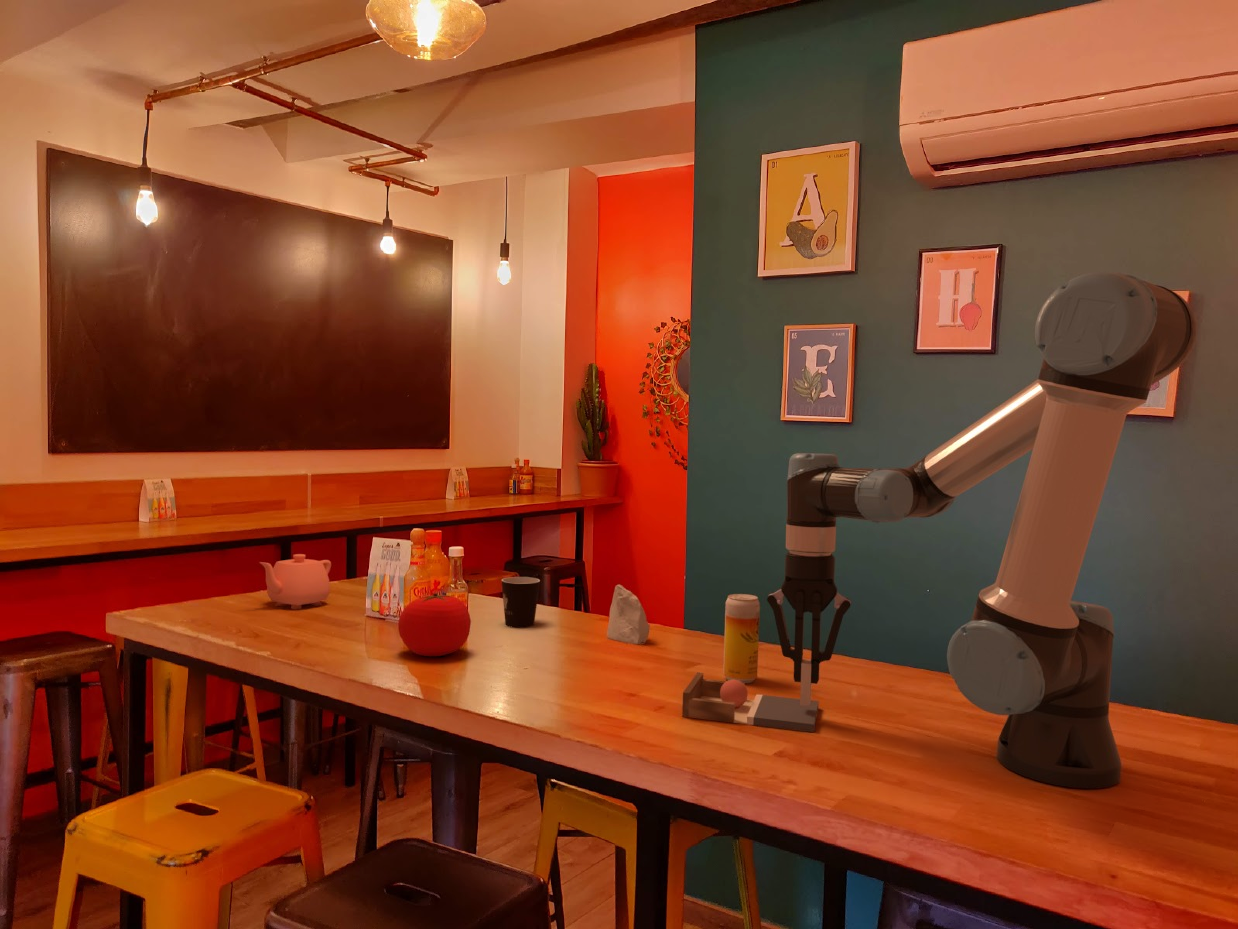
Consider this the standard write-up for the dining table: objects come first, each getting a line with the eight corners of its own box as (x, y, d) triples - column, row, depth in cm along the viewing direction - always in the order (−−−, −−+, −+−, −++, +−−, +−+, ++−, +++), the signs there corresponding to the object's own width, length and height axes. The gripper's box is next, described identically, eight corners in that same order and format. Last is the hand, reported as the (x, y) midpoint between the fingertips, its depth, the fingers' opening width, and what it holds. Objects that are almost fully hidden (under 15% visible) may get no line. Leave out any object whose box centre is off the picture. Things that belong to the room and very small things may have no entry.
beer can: (756, 685, 154) (759, 601, 153) (721, 682, 155) (724, 598, 155) (757, 676, 160) (760, 594, 159) (724, 673, 161) (727, 592, 160)
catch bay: (744, 700, 145) (744, 677, 145) (733, 722, 134) (734, 698, 134) (696, 694, 147) (697, 672, 147) (682, 716, 136) (682, 692, 136)
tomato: (449, 665, 161) (450, 602, 160) (385, 657, 165) (386, 596, 165) (482, 649, 173) (483, 591, 173) (421, 642, 177) (423, 585, 177)
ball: (722, 712, 141) (749, 711, 140) (718, 701, 138) (746, 699, 137) (721, 687, 144) (748, 686, 143) (718, 675, 141) (745, 674, 140)
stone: (651, 643, 183) (653, 588, 182) (632, 646, 179) (635, 590, 179) (619, 633, 190) (621, 580, 190) (601, 636, 187) (603, 582, 187)
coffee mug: (536, 629, 192) (537, 584, 191) (497, 628, 192) (498, 583, 191) (542, 618, 203) (543, 575, 203) (505, 617, 203) (506, 574, 203)
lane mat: (818, 708, 142) (818, 701, 142) (813, 732, 130) (814, 724, 130) (696, 694, 147) (697, 687, 147) (682, 716, 136) (682, 709, 136)
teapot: (241, 608, 205) (242, 556, 204) (312, 595, 222) (313, 548, 221) (277, 616, 198) (278, 562, 197) (348, 602, 214) (348, 553, 214)
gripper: (853, 552, 137) (848, 700, 138) (770, 547, 141) (765, 692, 142) (853, 558, 130) (848, 714, 131) (765, 553, 134) (760, 705, 134)
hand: (805, 703), depth 136 cm, fingers closed
